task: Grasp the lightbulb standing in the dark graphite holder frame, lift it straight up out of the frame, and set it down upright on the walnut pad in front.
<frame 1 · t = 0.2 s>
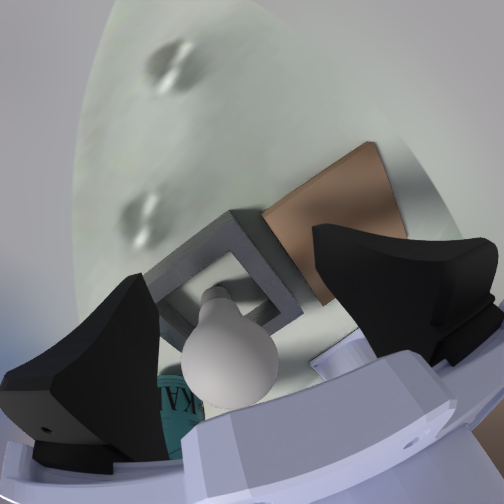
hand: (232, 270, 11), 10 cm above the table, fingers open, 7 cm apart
walnut pad: (344, 226, 23), on the table
holder frame: (214, 294, 23), on the table
beverage bottle: (171, 379, 27), on the table
lightbulb: (214, 292, 23), resting in holder frame
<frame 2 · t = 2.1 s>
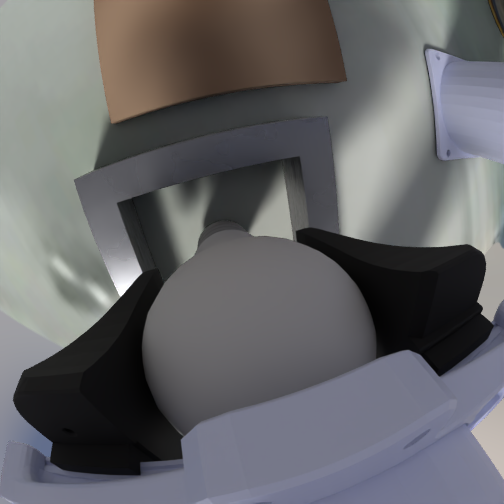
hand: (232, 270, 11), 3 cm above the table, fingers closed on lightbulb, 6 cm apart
holder frame: (221, 238, 14), on the table
lightbulb: (221, 237, 14), resting in holder frame, touching gripper
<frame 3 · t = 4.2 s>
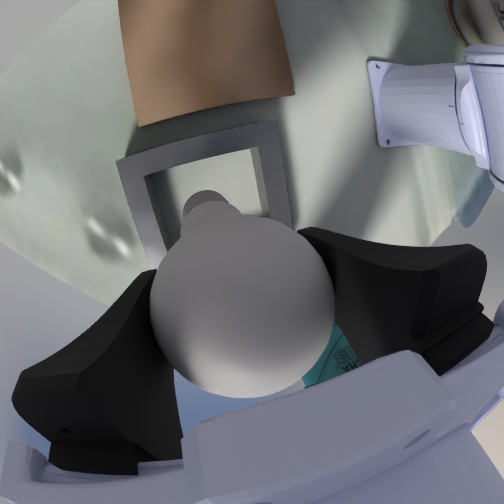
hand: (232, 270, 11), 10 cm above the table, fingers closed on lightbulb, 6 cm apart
walnut pad: (203, 40, 15), on the table
holder frame: (210, 204, 20), on the table
beverage bottle: (299, 297, 26), on the table
apothecary jar: (466, 25, 16), on the table
lightbulb: (203, 203, 15), point 5 cm above the table, touching gripper
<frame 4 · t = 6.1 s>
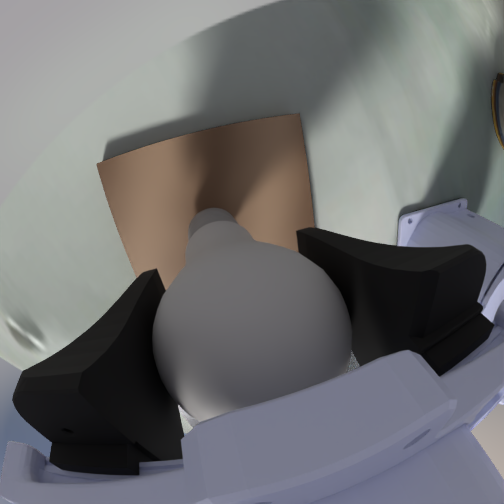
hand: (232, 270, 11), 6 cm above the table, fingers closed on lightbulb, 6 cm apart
walnut pad: (218, 224, 16), on the table
lightbulb: (209, 221, 15), point 1 cm above the table, touching gripper, walnut pad
when the fingers open (5 cm above the table, at t = 7.1 s): lightbulb stays where it is, resting on walnut pad.
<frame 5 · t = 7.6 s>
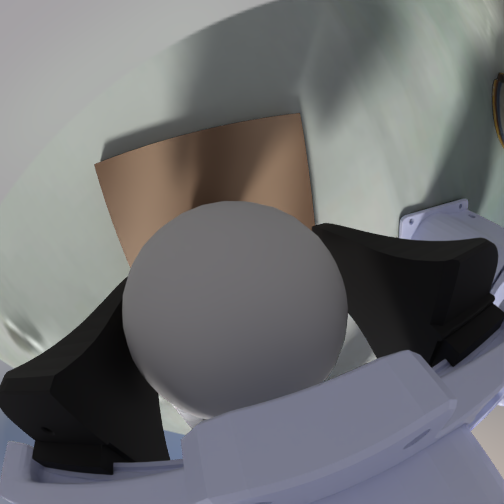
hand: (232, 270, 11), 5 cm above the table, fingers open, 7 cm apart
walnut pad: (217, 225, 16), on the table
lightbulb: (208, 221, 15), point 1 cm above the table, touching walnut pad
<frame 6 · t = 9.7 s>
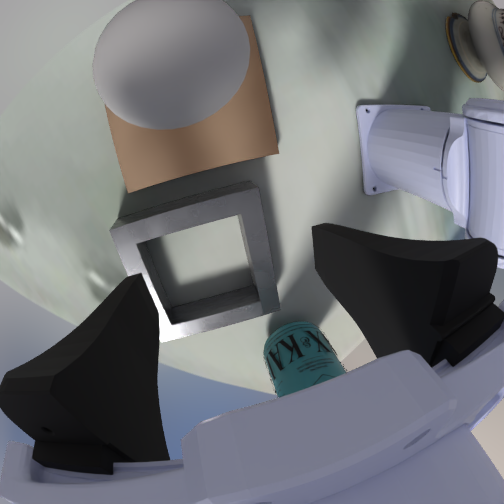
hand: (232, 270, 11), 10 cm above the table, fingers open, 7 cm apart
walnut pad: (185, 97, 16), on the table
holder frame: (200, 260, 22), on the table
beverage bottle: (286, 333, 28), on the table
apothecary jar: (466, 47, 17), on the table
lightbulb: (176, 89, 15), point 1 cm above the table, touching walnut pad
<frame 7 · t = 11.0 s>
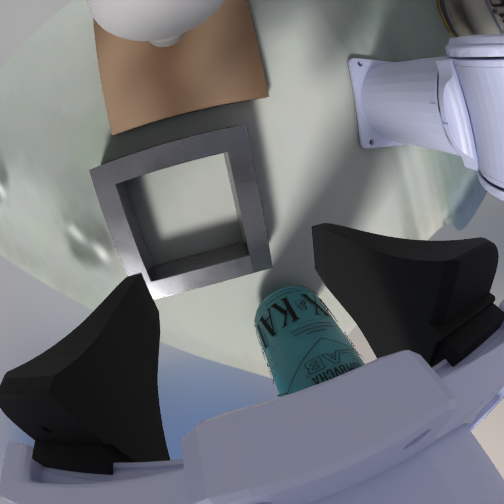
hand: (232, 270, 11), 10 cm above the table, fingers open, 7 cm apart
walnut pad: (175, 45, 14), on the table
holder frame: (184, 210, 20), on the table
beverage bottle: (280, 302, 26), on the table
apothecary jar: (459, 20, 16), on the table
lightbulb: (166, 36, 13), point 1 cm above the table, touching walnut pad
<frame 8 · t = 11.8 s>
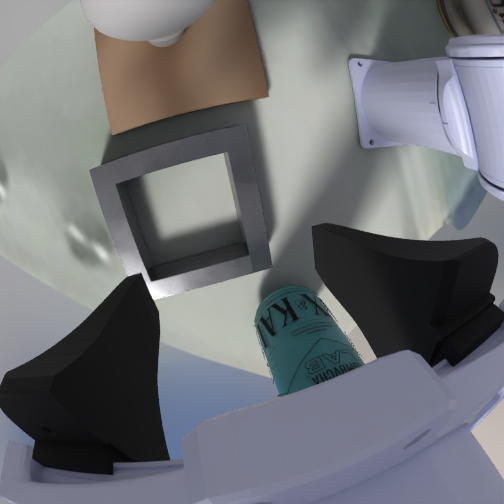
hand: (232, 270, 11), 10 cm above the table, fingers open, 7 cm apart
walnut pad: (175, 45, 14), on the table
holder frame: (184, 210, 20), on the table
beverage bottle: (280, 302, 26), on the table
apothecary jar: (459, 20, 16), on the table
lightbulb: (166, 36, 13), point 1 cm above the table, touching walnut pad
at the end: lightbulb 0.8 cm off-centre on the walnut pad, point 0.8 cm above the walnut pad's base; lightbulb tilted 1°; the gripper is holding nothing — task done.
